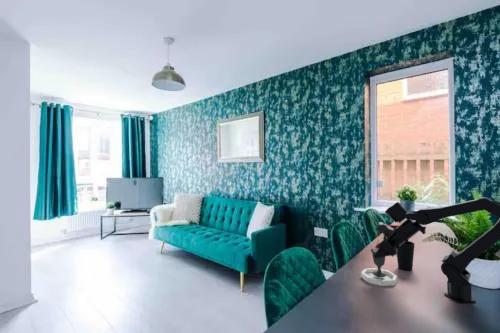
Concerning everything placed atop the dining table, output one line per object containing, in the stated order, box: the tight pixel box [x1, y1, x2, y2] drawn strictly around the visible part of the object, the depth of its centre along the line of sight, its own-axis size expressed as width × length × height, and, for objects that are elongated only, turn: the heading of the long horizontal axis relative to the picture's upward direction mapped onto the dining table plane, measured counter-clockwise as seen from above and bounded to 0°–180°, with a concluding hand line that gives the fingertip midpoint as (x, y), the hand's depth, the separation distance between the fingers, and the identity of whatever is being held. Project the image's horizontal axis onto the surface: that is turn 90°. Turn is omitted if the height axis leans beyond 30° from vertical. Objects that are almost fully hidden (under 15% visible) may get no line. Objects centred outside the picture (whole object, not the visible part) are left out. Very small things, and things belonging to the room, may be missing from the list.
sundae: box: [369, 239, 386, 277], centre depth 110 cm, size 7×7×15 cm
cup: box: [396, 240, 415, 272], centre depth 121 cm, size 8×8×12 cm
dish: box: [360, 267, 398, 287], centre depth 110 cm, size 13×13×2 cm
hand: (375, 254), depth 111 cm, fingers closed on sundae, 6 cm apart
